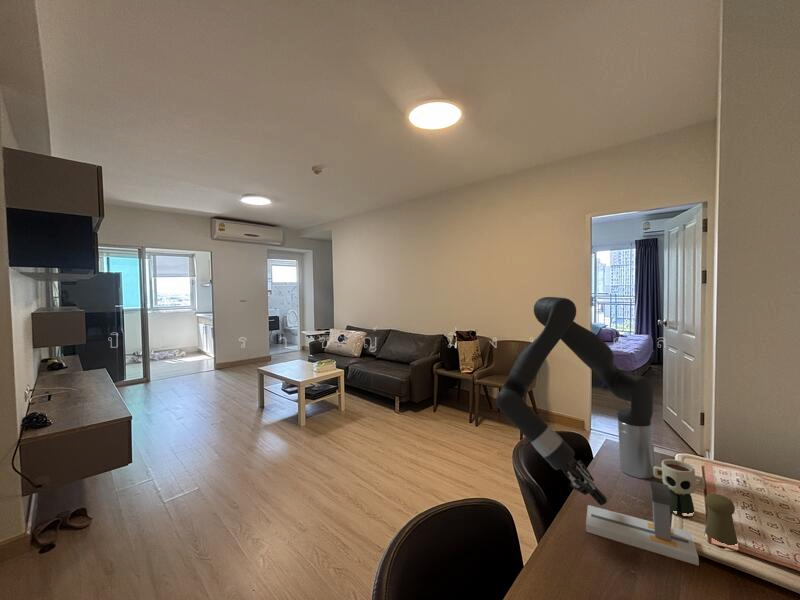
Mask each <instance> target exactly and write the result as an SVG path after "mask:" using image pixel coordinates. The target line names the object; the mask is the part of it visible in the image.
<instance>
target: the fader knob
mask: <svg viewBox="0 0 800 600" xmlns="http://www.w3.org/2000/svg"><path fill="white" fill-rule="evenodd" d="M649 491H650V496H651V499H652V501H651V502H652V503H651V504H652V520H653V521H652V522H653V526H654V532H655V537H658V538H662V539H665V540H669V541H671V527H672V526H671V511H670V506H672V498H671V494H670V491H669V488H668V485H666V484H664V483H660V482H656V481H651V480H650V481H649Z"/></svg>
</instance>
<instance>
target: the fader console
mask: <svg viewBox="0 0 800 600" xmlns="http://www.w3.org/2000/svg"><path fill="white" fill-rule="evenodd" d="M586 509H587V510H586V521H585V530H586V532H587V533H589V534H593V535H595V536H599V537H602V538H604V539H605V538H606V539H610V540H613V541H615V542H619V543H622V544H626V545H629V546H632V547H635V548H638V549H642V550H644V551H648V552H651V553H654V554H659V555H662V556H666V557H668V558H672V559H675V560H678V561H682V562H685V563H689V564H692V565H695V566H698V567H699V565H700V564H699V563H700V559H699V555H698V551H697V548H696V546H695V545H696V544H695V542H694V539H693V536H692V533H691V531H689V530H685V529H680V528H677V527H673V526H671V541H669V540H665V539H662V538H658V537H655V532H654V526H653V521H650V520H648V519H647V520H646V519H643V518H640V517H635V516H631V515H627V514H625V513H624V514H623V513H619V512H616V511H612V510H608V509H606V508H605V509H604V508H602V507H597V506H593V505H589V504H588V505H587V508H586Z"/></svg>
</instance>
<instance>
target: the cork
mask: <svg viewBox="0 0 800 600" xmlns="http://www.w3.org/2000/svg"><path fill="white" fill-rule="evenodd" d="M704 501H705V505H706V506H707V508H708V509H707V515H706V523H705V529H704V534H705V533H706V534H707V535H708V536H709V537H711V538H713V539H715V540H717V541H719V542H721V543H725V544H727V545H735V544H737V543H738V544H739V541H738V537H737V533H736V531H737V530H736V528H735V523H734V518H733V514H734V513H735V511H736V507H735V505H734V503H733V501H732V500H731V499H730V498H728V497H726V496H724V495H721V494H718V493H708V494H707V495H705V498H704Z"/></svg>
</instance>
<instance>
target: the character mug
mask: <svg viewBox="0 0 800 600" xmlns="http://www.w3.org/2000/svg"><path fill="white" fill-rule="evenodd" d="M658 471H661V475H660V474H658V473H659V472H658ZM653 472H654V473H653V477H654V478H656V479H660V480H661V481H662V484H666V485H668V488H669V491H670V494H671V498H672V506H670V513H672V512H673V511H677V512H678V511H679V512H678V513H681V512H682V513H687V514H689V513H693V512H694V511H695V506H694V502H693V497H692V495H691V494H693V493H695V491H696V489H699V490H705V489H706V483H705V478H704V477H702V476H699V475H696V470H695V468H694V466H692V465H691V464H689V463H687V462H685V461H682V460H677V459H672V458H671V459H669V458H667V459H663V460H662V461H661V467H660V466H656V465H655V466H654V467H653ZM696 480H697V481H699V484H698V483H696ZM682 513H681V514H682Z"/></svg>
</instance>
